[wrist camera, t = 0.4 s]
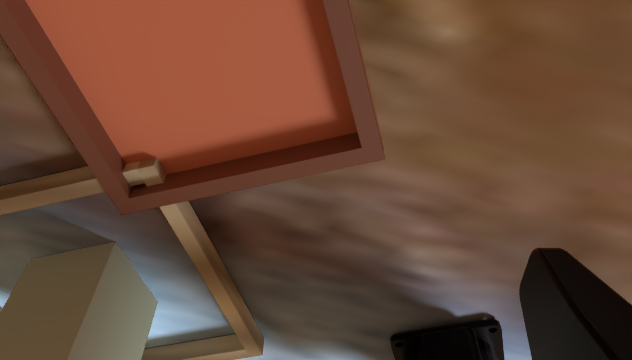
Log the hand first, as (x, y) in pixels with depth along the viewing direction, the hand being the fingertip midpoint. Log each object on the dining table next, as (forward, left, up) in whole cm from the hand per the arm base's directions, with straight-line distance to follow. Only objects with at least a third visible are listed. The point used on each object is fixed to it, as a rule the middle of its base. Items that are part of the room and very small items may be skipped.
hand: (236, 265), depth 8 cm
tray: (0, +4, -14) cm, 15 cm away
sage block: (-13, +15, -14) cm, 24 cm away
